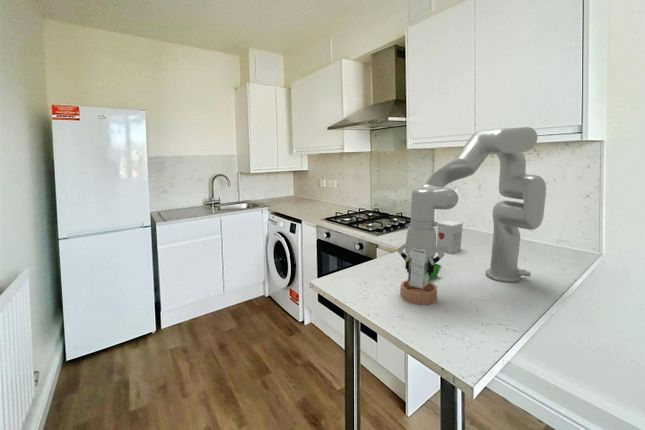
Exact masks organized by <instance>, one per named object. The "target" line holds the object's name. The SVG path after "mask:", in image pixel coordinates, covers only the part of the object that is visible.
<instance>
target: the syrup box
mask: <svg viewBox="0 0 645 430" xmlns="http://www.w3.org/2000/svg"><path fill="white" fill-rule="evenodd" d="M429 264H430V261H429V258H428V257H427V250H426V249H421V248H413V249H412V250H411V252H410V257H409V273H408V277H407V280H408V285H409V286H413V287H417V288H421V289H423V288H424V287H426V286H427V285H428V284H429V282H430V280H429Z"/></svg>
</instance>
